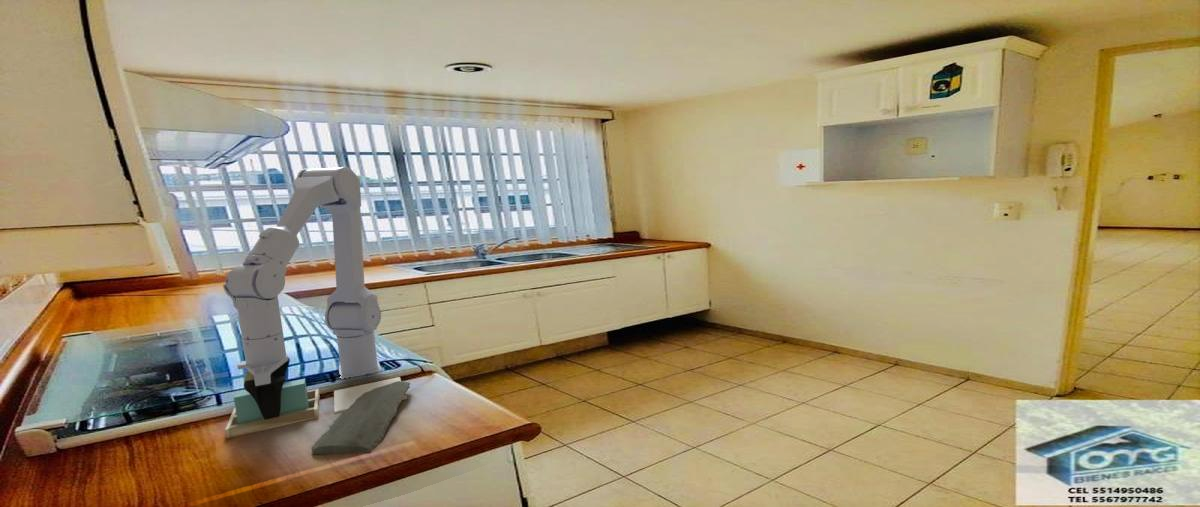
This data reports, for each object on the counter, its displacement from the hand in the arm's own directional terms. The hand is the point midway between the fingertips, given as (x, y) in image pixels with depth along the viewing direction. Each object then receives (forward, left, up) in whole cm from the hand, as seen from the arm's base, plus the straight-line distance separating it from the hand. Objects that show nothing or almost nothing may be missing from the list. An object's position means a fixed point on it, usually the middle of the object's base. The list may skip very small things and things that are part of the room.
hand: (274, 409), depth 84 cm
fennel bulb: (-16, -4, -3) cm, 17 cm away
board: (0, 0, -2) cm, 2 cm away
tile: (-2, +15, -2) cm, 15 cm away
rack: (-2, 0, -2) cm, 3 cm away
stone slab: (+8, +14, -2) cm, 17 cm away
